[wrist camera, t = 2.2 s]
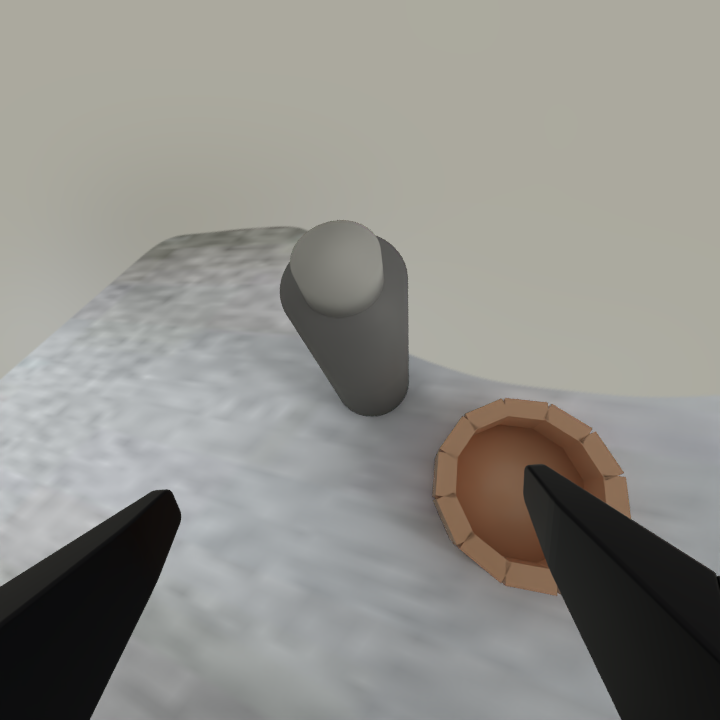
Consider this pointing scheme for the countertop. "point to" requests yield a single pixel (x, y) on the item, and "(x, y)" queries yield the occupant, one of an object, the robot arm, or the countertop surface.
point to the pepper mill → (352, 312)
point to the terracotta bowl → (515, 483)
